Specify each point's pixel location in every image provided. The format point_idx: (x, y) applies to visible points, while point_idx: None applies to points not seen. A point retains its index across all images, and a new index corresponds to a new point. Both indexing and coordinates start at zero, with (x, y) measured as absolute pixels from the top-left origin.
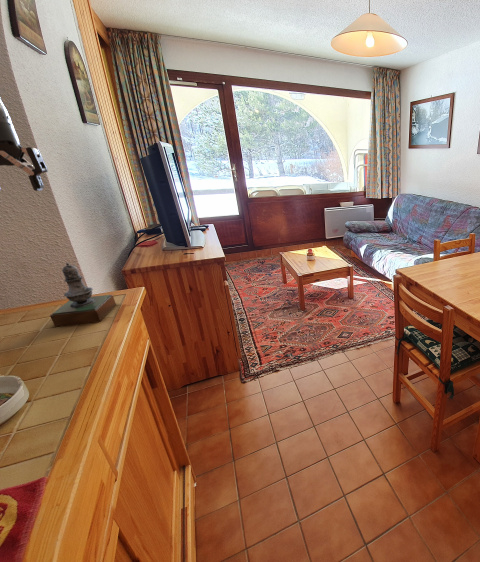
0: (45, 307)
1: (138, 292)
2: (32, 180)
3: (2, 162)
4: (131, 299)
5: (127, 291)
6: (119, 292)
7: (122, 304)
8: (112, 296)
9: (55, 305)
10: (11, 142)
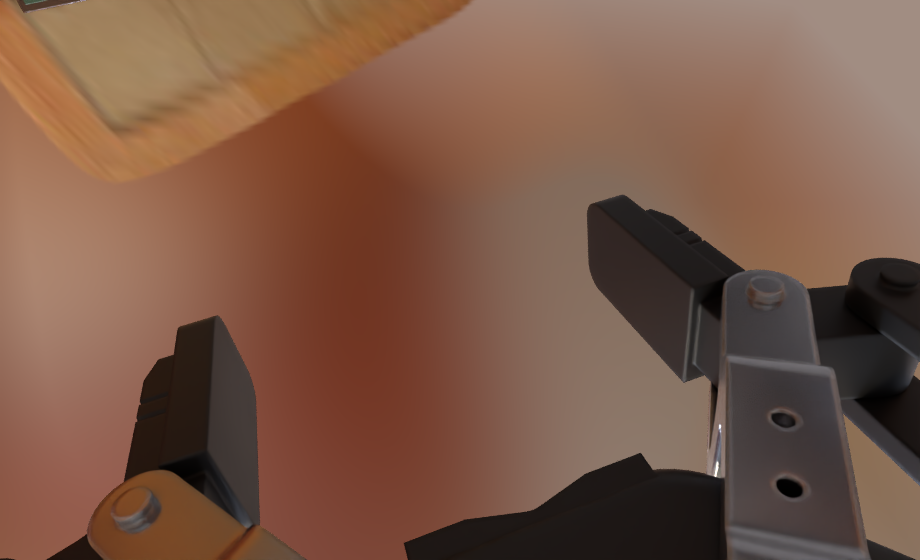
0: (370, 3)
1: (65, 151)
2: (181, 408)
3: (548, 543)
4: (21, 70)
5: (135, 162)
6: (166, 151)
7: (13, 10)
8: (21, 4)
9: (344, 21)
10: None
